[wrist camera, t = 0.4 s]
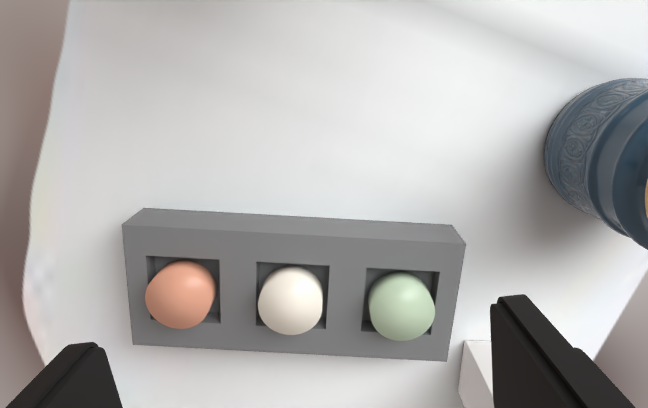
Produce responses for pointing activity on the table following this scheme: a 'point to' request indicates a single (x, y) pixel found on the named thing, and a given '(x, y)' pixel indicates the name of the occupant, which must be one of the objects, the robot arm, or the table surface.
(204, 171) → the table surface
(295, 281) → the button cream
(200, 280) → the button terracotta
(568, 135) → the canister
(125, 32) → the table surface
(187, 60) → the table surface
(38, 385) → the robot arm
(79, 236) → the table surface
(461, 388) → the milk carton
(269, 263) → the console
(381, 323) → the button sage
